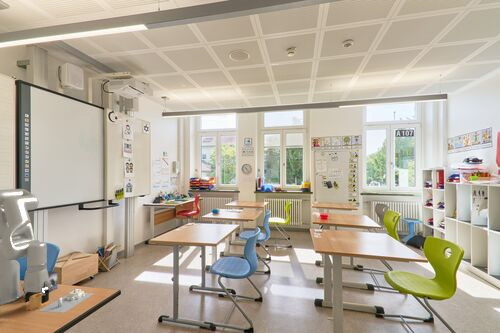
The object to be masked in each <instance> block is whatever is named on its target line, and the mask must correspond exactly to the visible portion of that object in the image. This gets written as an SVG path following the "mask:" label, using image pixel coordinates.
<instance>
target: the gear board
mask: <svg viewBox="0 0 500 333" xmlns="http://www.w3.org/2000/svg"><path fill="white" fill-rule="evenodd" d="M78 289H79V288H75V289H73V290H74V293H76V292H78ZM67 295H70V293H68V294H66V295H64V296H63V297H59V298H58V299H57V300H56V301H54V302H52V303H49V305H48V304H47V306H46V305H45V307H43V308H40V310H39V312H49V313H60V314H61V313H62V314H64V313H65V312H67V311H69V310H70V309H72V308H74V307H76V306H77V305H79V304H80V303H81V302H82V303H83V301H85V300H86V299H88V298H90V297H91V296H93V295H95V293H92V292H84V296H83V297H81V298H80V299H75V300H74V301H71V300H67Z"/></svg>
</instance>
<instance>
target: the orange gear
mask: <svg viewBox="0 0 500 333" xmlns="http://www.w3.org/2000/svg"><path fill="white" fill-rule="evenodd" d="M41 296H42V293H38V294H35V295H32V296H30V298H29V301H28V302H29V304H28V305H27V306H26V308H25V310H26V311H27V310H29V311H34V309H42V307H43V306H46V305H48V302H45V303H43V304H42V303H41Z"/></svg>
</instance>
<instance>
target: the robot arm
mask: <svg viewBox="0 0 500 333" xmlns="http://www.w3.org/2000/svg"><path fill="white" fill-rule="evenodd" d="M39 203H40V202H39V200H38V197H37V196H36V195H34V194H33V193H31V192H30V191H29V190H26V189H24V188H15V189H14V188H11V189H0V241H1V242H0V306H3V305H7V304H11V303H12V302H15V301H18V300H20V299H21V298H23V296H24V303H28V302H29V298H30V296H32V295H33V292H41V293H42V296H41V303H42V304H43V303H45V302H46V303H48V302H49V298H50V296H49V295H50V293H51V292H52V291H51V289H52V287H53V285H52V284H50V283H49V277H48V272H49V271H48V267H47V265H48V261H47V259H48V257H47V256H48V255H47V254H48V250H47V249H48V247H47V246H48V245H47V243H46V242H45V241H40V240H38V239H36V237H35V233H34V229H33V225H32V220H31V218H30V214H29V212H28V211H33V210H36V209H38V206H39ZM18 237H19V238H18ZM14 238H15V239H14ZM22 258H23V259H24V258H26V271H25V273H24V279H23V283H22V284H21V283H20V282H21V277H20V276H21V271H20V270H21V264H20V262H19V261H18V260H19V259H22ZM20 285H21V286H20ZM21 287H22V291H21V289H20V288H21ZM44 290H46V291H45V292H44ZM50 291H51V292H50Z"/></svg>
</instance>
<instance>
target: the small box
mask: <svg viewBox="0 0 500 333" xmlns="http://www.w3.org/2000/svg"><path fill="white" fill-rule="evenodd" d="M58 275H59V274H58V271H53V270H51V271H50V270H49V271H48V277H49V283H50V284H52V285H53V287H52V289H51V291H50V293H51V292H53V291H55V290H57V289H58V282H59V281H58V278H59V277H58ZM45 291H46V290H44V292H45ZM38 293H41V292H33V295H35V294H38Z"/></svg>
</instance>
